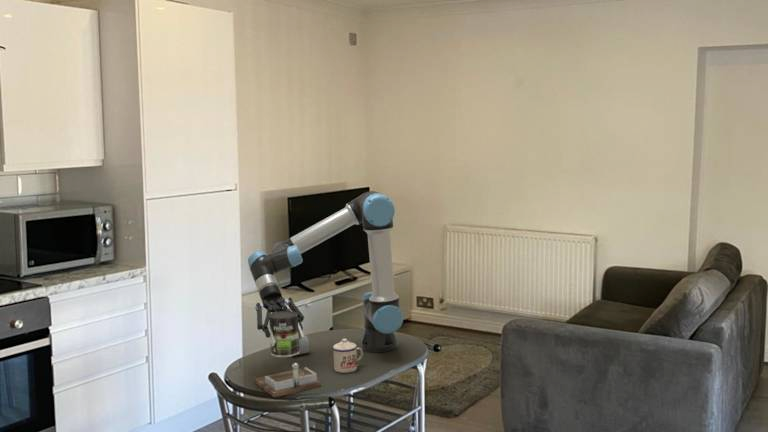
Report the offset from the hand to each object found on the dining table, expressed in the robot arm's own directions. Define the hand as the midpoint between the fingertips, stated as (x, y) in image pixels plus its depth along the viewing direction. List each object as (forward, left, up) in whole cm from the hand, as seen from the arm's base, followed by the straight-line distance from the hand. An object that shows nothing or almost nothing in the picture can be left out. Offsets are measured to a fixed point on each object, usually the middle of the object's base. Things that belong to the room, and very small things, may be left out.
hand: (288, 341), depth 270 cm
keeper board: (+2, -2, -17) cm, 17 cm away
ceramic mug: (+10, -37, -17) cm, 42 cm away
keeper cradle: (-1, +1, -15) cm, 15 cm away
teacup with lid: (-16, -21, -17) cm, 32 cm away
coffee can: (+2, -2, -5) cm, 6 cm away
